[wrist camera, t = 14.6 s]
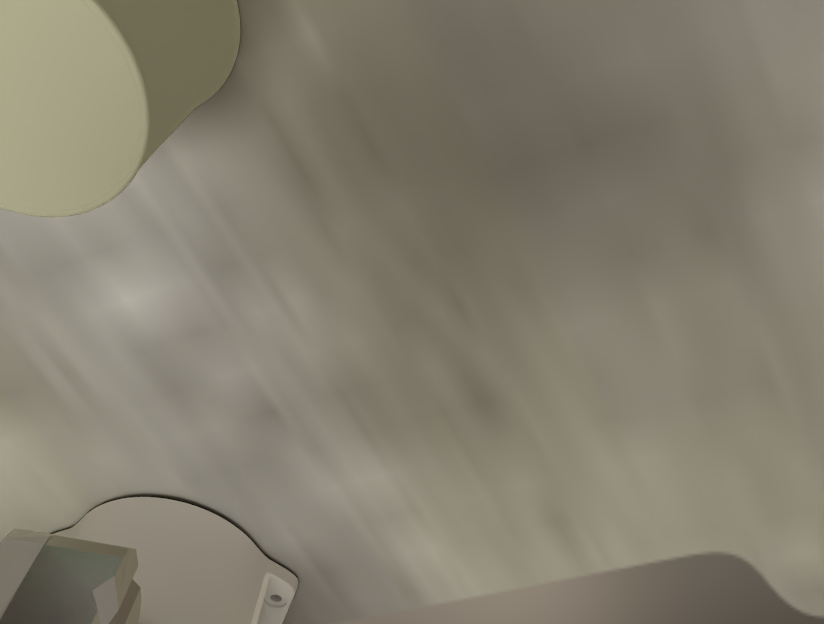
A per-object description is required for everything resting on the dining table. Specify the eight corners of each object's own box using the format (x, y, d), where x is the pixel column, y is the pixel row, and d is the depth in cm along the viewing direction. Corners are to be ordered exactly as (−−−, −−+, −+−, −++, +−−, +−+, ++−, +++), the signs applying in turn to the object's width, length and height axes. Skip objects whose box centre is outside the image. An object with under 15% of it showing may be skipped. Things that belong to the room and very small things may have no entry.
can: (7, -94, 32) (-203, -49, 22) (217, -111, 31) (94, -72, 22) (76, 117, 37) (-70, 230, 28) (258, 108, 37) (175, 221, 27)
